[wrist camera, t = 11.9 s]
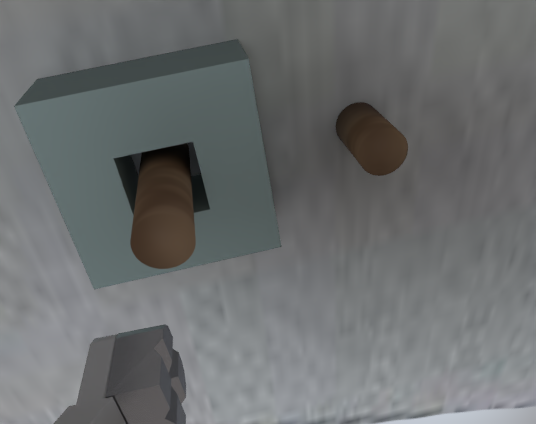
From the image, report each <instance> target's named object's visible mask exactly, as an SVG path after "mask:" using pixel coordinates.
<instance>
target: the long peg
mask: <svg viewBox="0 0 536 424" xmlns="http://www.w3.org/2000/svg"><path fill="white" fill-rule="evenodd" d="M130 245H131V249H132V252H133V254H134V255H135V257H136V258H137V259H138V260H139V261H140V262H142V263H143V264H145V265H147V266H149V267H152V268H157V269H169V268H173V267H177V266H179V265H181V264H183V263H184V262H186V261H187V260H188V259H189V258H190V257H191V255H192V254H193V252H194V249H195V245H196V237H195V224H194V210H193V197H192V184H191V170H190V157H189V147H188V144H187V143H184V144H179V145H175V146H170V147H165V148H160V149H156V150H151V151H146V152H142V155H141V163H140V170H139V178H138V186H137V193H136V201H135V209H134V216H133V224H132V231H131V239H130Z"/></svg>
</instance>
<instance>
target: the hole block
mask: <svg viewBox="0 0 536 424" xmlns="http://www.w3.org/2000/svg"><path fill="white" fill-rule="evenodd" d="M14 107H15V109H16V112H17V114H18V116H19V118H20V121H21V123H22V125H23V128H24V130H25V132H26V134H27V137H28V139H29V141H30V144H31V146H32V148H33V150H34V153H35V155H36V157H37V160H38V162H39V164H40V166H41V169H42V171H43V173H44V176H45V178H46V180H47V183H48V185H49V187H50V189H51V192H52V194H53V196H54V199H55V201H56V203H57V205H58V208H59V210H60V212H61V215H62V217H63V219H64V221H65V224H66V226H67V228H68V231H69V233H70V235H71V237H72V240H73V242H74V244H75V247H76V249H77V251H78V253H79V256H80V258H81V260H82V263H83V265H84V267H85V269H86V272H87V274H88V276H89V279H90V281H91V283H92V286H93V288H94V289H98V288H102V287H106V286H111V285H115V284H120V283H124V282H128V281H133V280H137V279H142V278H146V277H150V276H155V275H159V274H164V273H168V272H172V271H177V270H181V269H186V268H190V267H194V266H199V265H203V264H208V263H212V262H216V261H221V260H225V259H230V258H234V257H238V256H243V255H247V254H252V253H256V252H260V251H265V250H269V249H274V248H278V247H281V242H280V236H279V230H278V225H277V219H276V213H275V207H274V202H273V196H272V190H271V185H270V179H269V173H268V167H267V162H266V156H265V150H264V144H263V139H262V133H261V127H260V122H259V116H258V110H257V104H256V99H255V93H254V87H253V82H252V76H251V70H250V64H249V59H248V57H247V55H246V53H245V52H244V50H243V48H242V46H241V44H240V43H239V41H238V39H237V40H232V41H227V42H222V43H217V44H212V45H207V46H202V47H197V48H192V49H187V50H182V51H177V52H172V53H167V54H162V55H157V56H152V57H147V58H142V59H137V60H132V61H127V62H122V63H117V64H112V65H107V66H102V67H97V68H92V69H87V70H82V71H77V72H72V73H67V74H62V75H57V76H52V77H47V78H42V79H37V80H36V81H35V82H34V84H33V85H32V86H31V87H30V88H29V89H28V91H27V92H26V93H25V94H24V95H23V96H22V98H21V99H20V100H19V101H18V102H17V104H16V105H15V106H14ZM189 142H193V143H194V147H195V151H196V155H197V159H198V163H199V167H200V171H201V174H200V175H195V176H191V184H192V197H193V210H194V224H195V237H196V245H195V249H194V252H193V254H192V255H191V257H190V258H189V259H188V260H187V261H186V262H184V263H183V264H181V265H179V266H177V267H173V268H169V269H157V268H152V267H149V266H147V265H145V264H143V263H142V262H140V261H139V260H138V259H137V258H136V257H135V255H134V254H133V252H132V249H131V245H130V239H131V231H132V224H133V216H134V209H135V201H136V193H137V186H138V176H137V173H136V170H135V167H134V164H133V160H132V157H131V155H132V154H137V153H142V152H146V151H151V150H156V149H160V148H165V147H170V146H175V145H179V144H184V143H189Z"/></svg>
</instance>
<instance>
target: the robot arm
mask: <svg viewBox="0 0 536 424" xmlns="http://www.w3.org/2000/svg"><path fill="white" fill-rule="evenodd" d="M185 398H186V381H185V373H184V368H183V364H182V360H181V358H180V355H179V352H177V351H175V350H174V349H173V336H172V334H171V332H170V329H169V327H168V326H167V325H160V326H155V327H149V328H144V329H139V330H134V331H129V332H124V333H119V334H117V335H111V336H106V337H101V338H96V339H94V340H93V342H92V343H91V344H90V348H89V352H88V356H87V360H86V365H85V369H84V373H83V378H82V382H81V386H80V390H79V395H78V399H77V403H76V405H73V406H69V407H68V408H67V409H66V410H65V411H64V412H63V414H62V415H61V416H60V417H59V418H58V419H57V420H56V421H55V423H54V424H186V415H185V412H184V410H183V407H182V405H181V404H182V402H183V401H184V399H185Z"/></svg>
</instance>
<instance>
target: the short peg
mask: <svg viewBox="0 0 536 424" xmlns="http://www.w3.org/2000/svg"><path fill="white" fill-rule="evenodd" d="M336 132H337V134H338V136H339V138H340V139H341V140H342V142H343V143H344V144H345V145H346V147H347V148H348V149H349V151H350V152H351V153H352V154H353V156H354V157H355V158H356V160H357V161H358V162H359V163H360V165H361V166H362V167H363V169H364V170H365V171H367V172H368V173H370V174H372V175H378V176H381V175H386V174H389V173H391V172H393V171H395V170H396V169H397V168H399V167H400V166H401V164H402V163H403V162H404V160H405V158H406V155H407V151H408V144H407V141H406V138H405V137H404V136H403V134H401V133H400V132H399V131H398V130H397V129H396V128H395V127H394V126H393V125H392V124H391V123H390V122H388V121H387V120H386V119H385V118H384V117H383V116H382V115H381V114H380V113H379V112H378V111H377V110H375V109H374V108H373V107H372V106H371V105H369V104H367V103H362V102H359V103H354V104H351V105H349V106H347V107H346V108H345V109H344V110H343V111H342V112H341V113H340V115H339V116H338V119H337V122H336Z"/></svg>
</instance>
